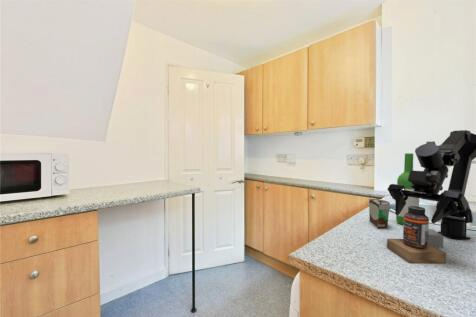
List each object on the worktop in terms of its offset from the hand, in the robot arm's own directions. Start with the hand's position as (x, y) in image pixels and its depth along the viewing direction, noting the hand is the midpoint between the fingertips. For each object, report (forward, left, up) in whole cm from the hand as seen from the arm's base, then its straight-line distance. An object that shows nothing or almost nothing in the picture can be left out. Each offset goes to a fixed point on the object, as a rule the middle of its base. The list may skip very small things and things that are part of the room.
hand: (413, 218), depth 69 cm
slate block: (-12, -11, -11) cm, 20 cm away
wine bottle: (-20, -31, -11) cm, 38 cm away
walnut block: (-1, -1, -11) cm, 11 cm away
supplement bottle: (-1, -1, -8) cm, 9 cm away
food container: (-8, -29, -11) cm, 32 cm away
